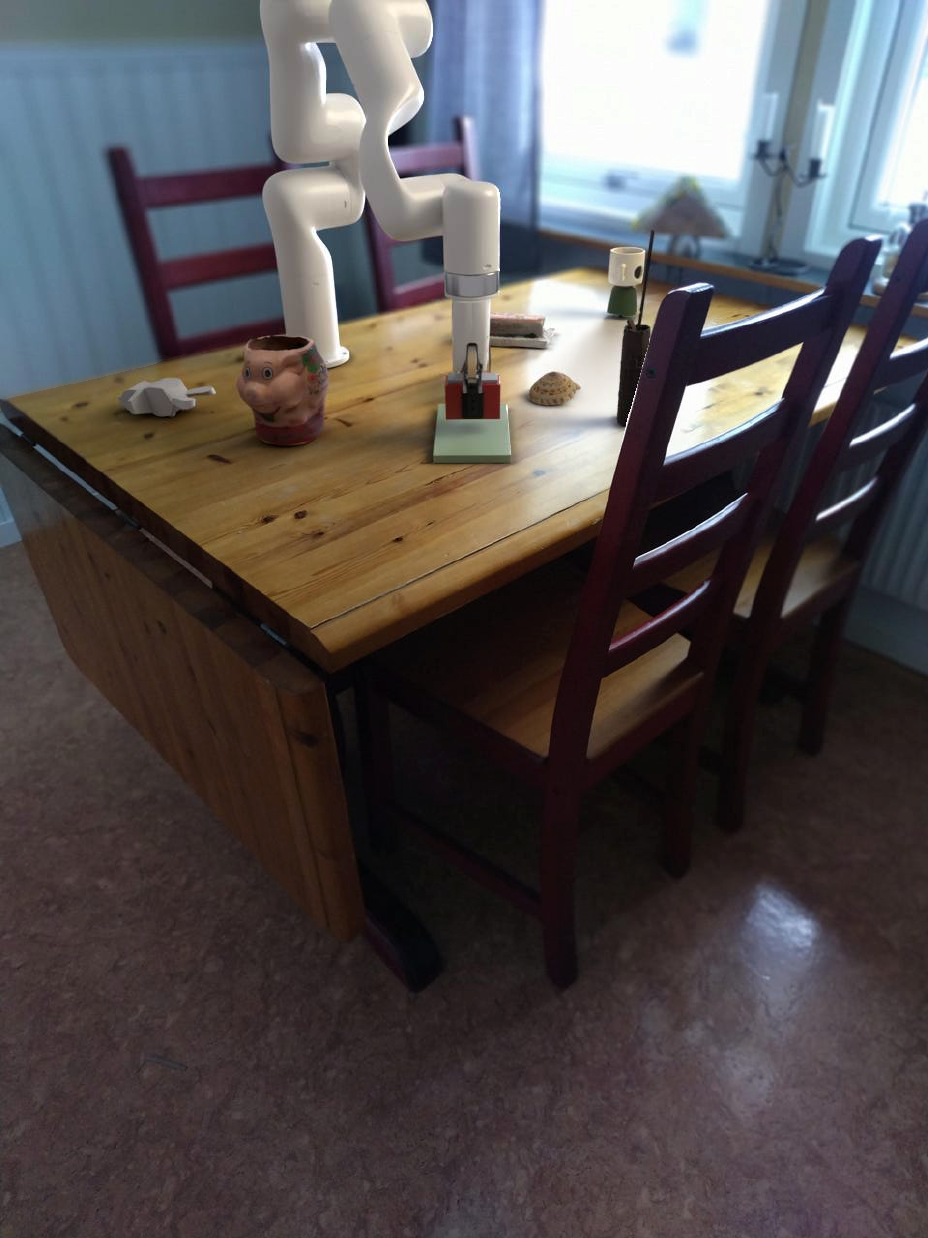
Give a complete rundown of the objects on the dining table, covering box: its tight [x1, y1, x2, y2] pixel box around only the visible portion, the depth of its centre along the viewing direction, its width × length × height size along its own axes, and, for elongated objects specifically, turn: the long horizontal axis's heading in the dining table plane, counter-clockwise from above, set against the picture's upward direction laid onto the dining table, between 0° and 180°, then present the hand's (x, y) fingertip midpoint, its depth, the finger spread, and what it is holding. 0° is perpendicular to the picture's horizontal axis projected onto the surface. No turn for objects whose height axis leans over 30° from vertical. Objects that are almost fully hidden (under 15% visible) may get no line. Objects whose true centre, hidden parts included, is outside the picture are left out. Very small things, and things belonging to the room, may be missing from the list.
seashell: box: [527, 371, 582, 406], centre depth 141 cm, size 8×6×8 cm
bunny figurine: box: [117, 377, 217, 418], centre depth 136 cm, size 10×5×15 cm
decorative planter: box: [236, 334, 330, 446], centre depth 127 cm, size 20×12×14 cm, turn 168°
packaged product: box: [489, 311, 555, 349], centre depth 166 cm, size 18×5×10 cm
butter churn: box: [616, 229, 655, 428], centre depth 125 cm, size 9×10×28 cm
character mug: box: [606, 246, 646, 318], centre depth 177 cm, size 11×7×13 cm, turn 161°
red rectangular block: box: [444, 372, 501, 420], centre depth 125 cm, size 4×8×6 cm, turn 89°
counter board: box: [432, 403, 512, 464], centre depth 128 cm, size 11×20×1 cm, turn 179°
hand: (472, 410), depth 126 cm, fingers closed on red rectangular block, 4 cm apart
